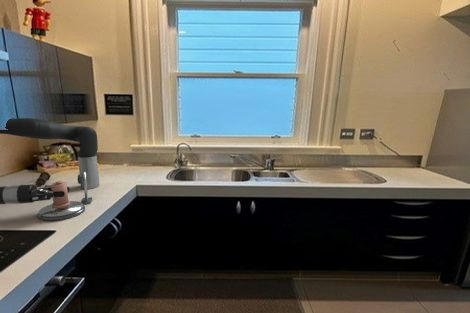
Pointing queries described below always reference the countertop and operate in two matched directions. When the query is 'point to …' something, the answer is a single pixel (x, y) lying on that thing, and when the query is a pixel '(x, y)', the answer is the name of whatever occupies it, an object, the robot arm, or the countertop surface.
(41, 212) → the disc
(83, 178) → the dial gauge
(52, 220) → the base
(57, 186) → the cover
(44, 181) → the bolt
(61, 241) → the countertop surface
